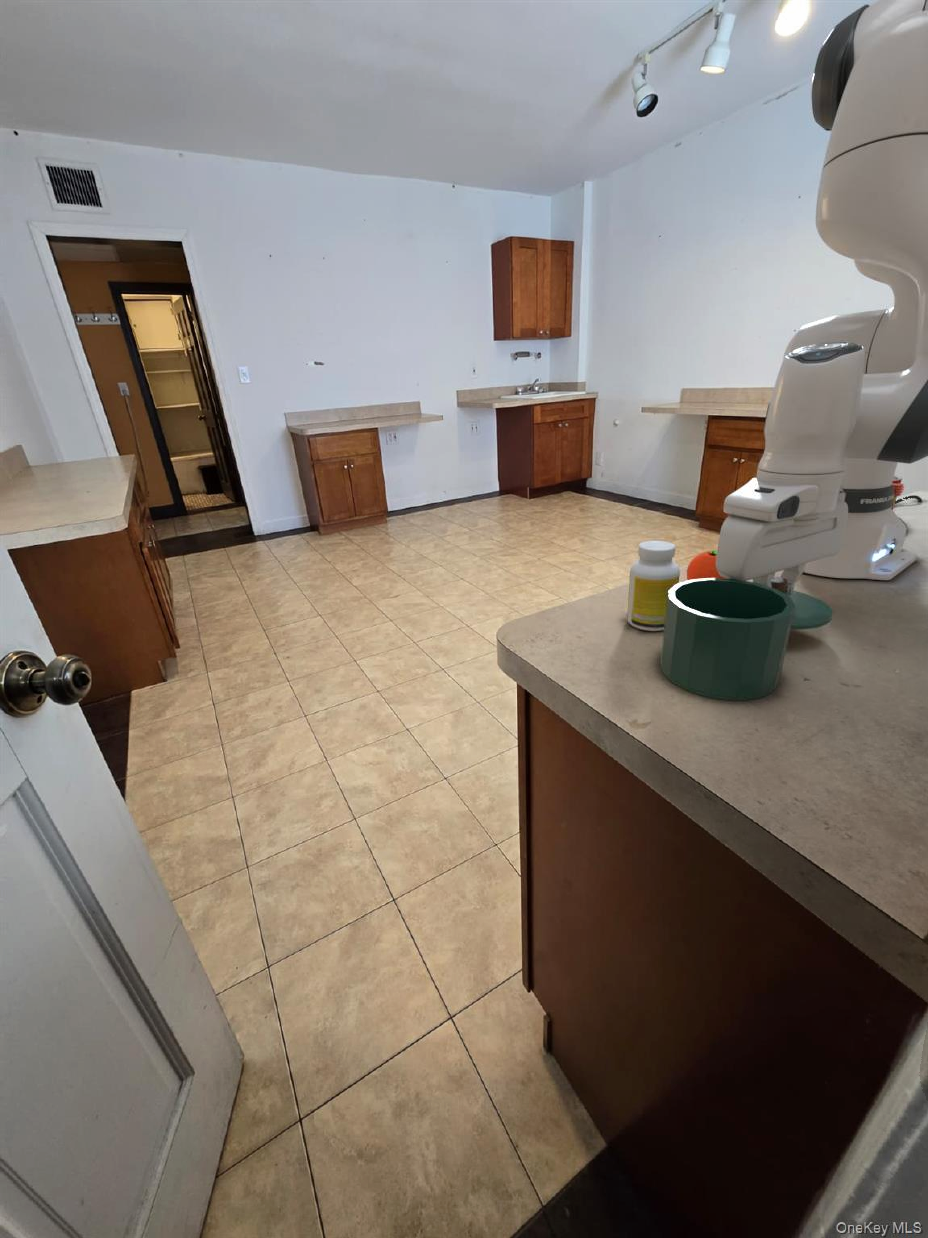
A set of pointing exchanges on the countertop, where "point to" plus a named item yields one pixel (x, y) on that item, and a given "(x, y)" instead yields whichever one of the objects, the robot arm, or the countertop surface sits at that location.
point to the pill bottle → (651, 584)
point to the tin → (725, 637)
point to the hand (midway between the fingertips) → (772, 598)
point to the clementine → (703, 566)
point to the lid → (805, 608)
